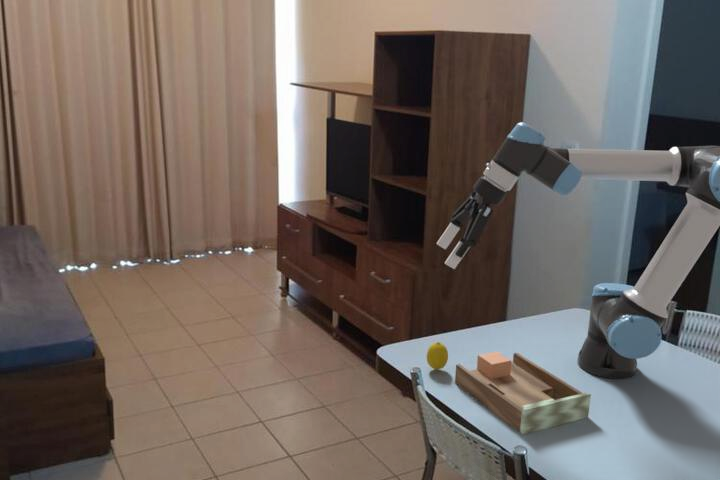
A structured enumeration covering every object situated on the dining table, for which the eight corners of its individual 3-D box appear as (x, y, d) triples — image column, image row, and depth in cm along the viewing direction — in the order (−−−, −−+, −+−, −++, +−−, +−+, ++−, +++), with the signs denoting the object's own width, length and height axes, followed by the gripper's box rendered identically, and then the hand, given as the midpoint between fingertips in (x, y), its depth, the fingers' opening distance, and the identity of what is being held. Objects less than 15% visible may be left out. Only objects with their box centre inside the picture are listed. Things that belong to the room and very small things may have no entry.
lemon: (446, 376, 183) (448, 347, 181) (424, 373, 184) (426, 345, 182) (447, 367, 188) (449, 339, 186) (427, 364, 189) (428, 336, 187)
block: (495, 365, 184) (497, 351, 183) (510, 374, 179) (511, 360, 178) (476, 369, 182) (477, 354, 181) (490, 379, 176) (492, 364, 175)
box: (515, 369, 188) (517, 349, 186) (588, 417, 164) (591, 393, 163) (454, 382, 180) (456, 361, 178) (522, 434, 156) (525, 410, 155)
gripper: (471, 163, 178) (425, 232, 184) (493, 189, 155) (439, 267, 160) (496, 178, 180) (449, 246, 185) (521, 206, 156) (467, 282, 162)
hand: (445, 256), depth 173 cm, fingers open, 13 cm apart
